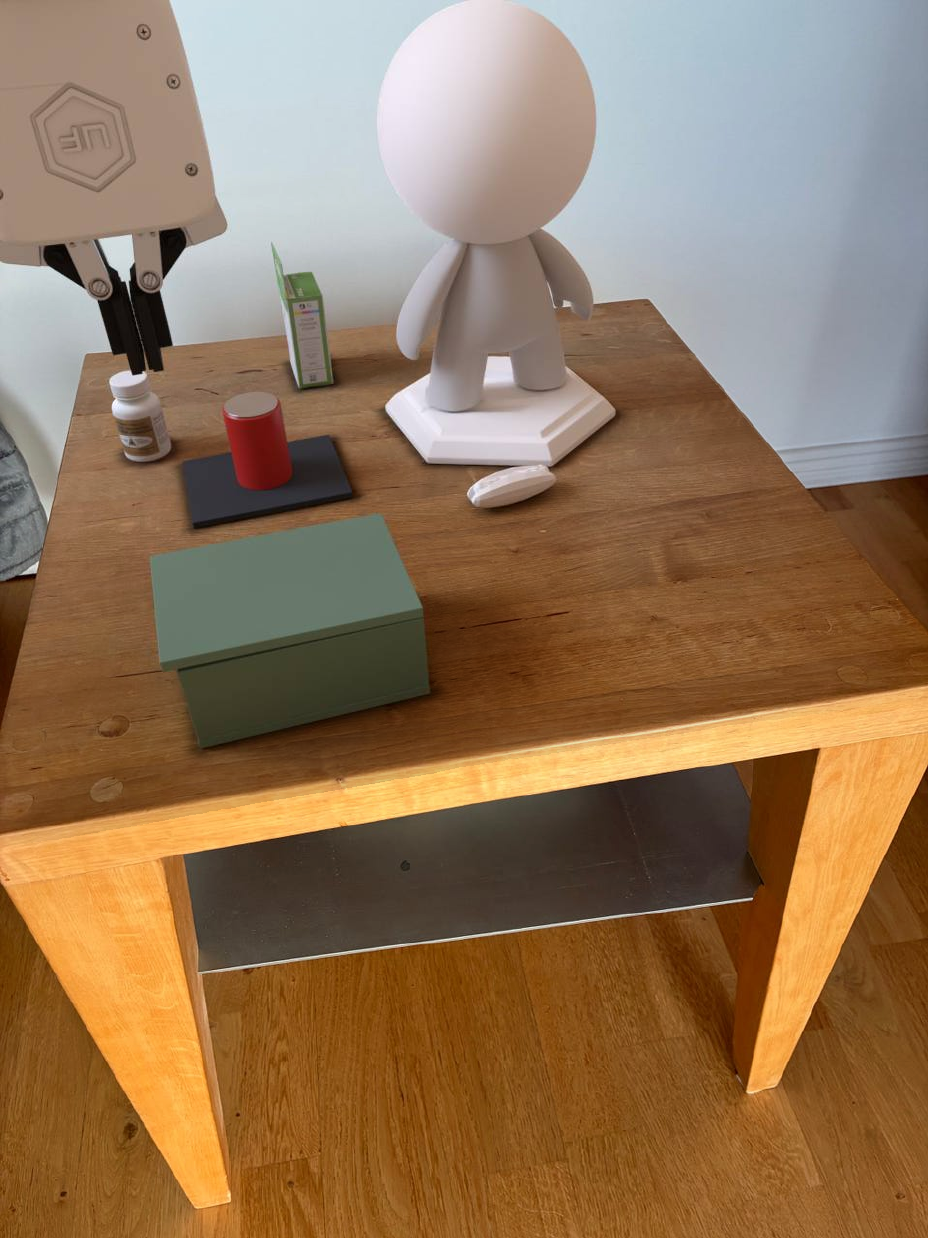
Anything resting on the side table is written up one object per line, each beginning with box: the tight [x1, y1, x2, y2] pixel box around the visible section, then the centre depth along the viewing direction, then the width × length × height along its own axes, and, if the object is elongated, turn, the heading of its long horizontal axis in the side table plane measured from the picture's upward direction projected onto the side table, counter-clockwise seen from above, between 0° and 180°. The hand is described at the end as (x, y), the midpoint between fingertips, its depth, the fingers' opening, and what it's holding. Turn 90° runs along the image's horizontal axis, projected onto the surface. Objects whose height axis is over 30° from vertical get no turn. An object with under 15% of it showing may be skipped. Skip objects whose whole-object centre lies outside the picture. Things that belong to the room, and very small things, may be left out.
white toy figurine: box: [376, 0, 616, 468], centre depth 86 cm, size 20×23×35 cm
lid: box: [149, 512, 424, 673], centre depth 64 cm, size 16×12×1 cm
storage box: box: [176, 616, 431, 749], centre depth 67 cm, size 16×12×7 cm
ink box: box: [270, 241, 335, 389], centre depth 101 cm, size 7×4×13 cm, turn 15°
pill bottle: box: [109, 369, 172, 463], centre depth 91 cm, size 4×4×8 cm
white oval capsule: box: [466, 465, 557, 509], centre depth 84 cm, size 3×8×3 cm, turn 115°
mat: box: [182, 434, 354, 529], centre depth 89 cm, size 14×11×1 cm
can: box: [221, 391, 292, 490], centre depth 86 cm, size 5×5×7 cm
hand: (146, 361), depth 50 cm, fingers closed
